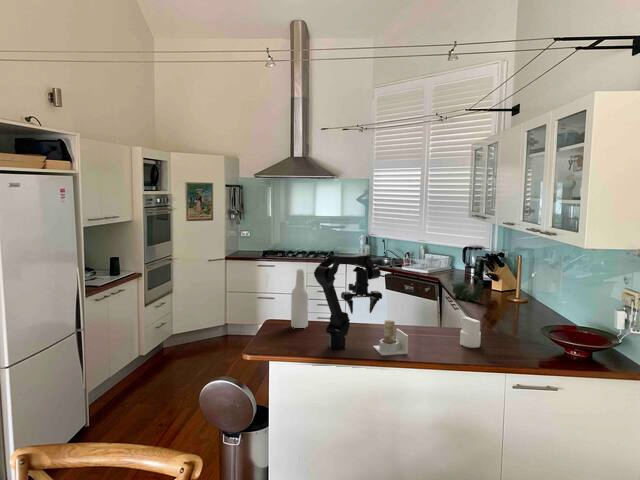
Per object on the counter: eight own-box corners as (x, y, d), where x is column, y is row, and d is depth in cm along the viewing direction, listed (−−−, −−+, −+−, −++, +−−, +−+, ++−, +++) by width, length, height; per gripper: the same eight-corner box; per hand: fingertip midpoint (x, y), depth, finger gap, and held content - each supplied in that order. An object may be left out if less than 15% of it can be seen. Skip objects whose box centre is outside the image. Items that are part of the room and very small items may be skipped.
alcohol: (311, 327, 232) (312, 270, 230) (295, 330, 228) (296, 271, 225) (302, 323, 240) (303, 267, 237) (288, 325, 236) (288, 268, 233)
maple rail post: (386, 350, 197) (386, 322, 196) (382, 347, 202) (383, 320, 201) (395, 350, 199) (396, 322, 198) (391, 347, 203) (392, 319, 202)
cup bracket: (382, 355, 193) (382, 337, 193) (373, 347, 204) (373, 329, 203) (407, 353, 196) (408, 335, 196) (397, 345, 207) (397, 328, 206)
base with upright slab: (455, 342, 213) (457, 317, 212) (470, 340, 217) (472, 316, 216) (469, 348, 205) (470, 322, 204) (484, 346, 209) (485, 320, 207)
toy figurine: (483, 305, 298) (454, 294, 319) (487, 277, 295) (457, 268, 315) (474, 306, 293) (445, 295, 314) (478, 278, 290) (448, 269, 310)
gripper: (374, 277, 221) (373, 308, 222) (338, 278, 217) (337, 309, 218) (383, 281, 210) (382, 314, 212) (344, 282, 206) (344, 315, 207)
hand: (361, 313), depth 212 cm, fingers open, 9 cm apart
